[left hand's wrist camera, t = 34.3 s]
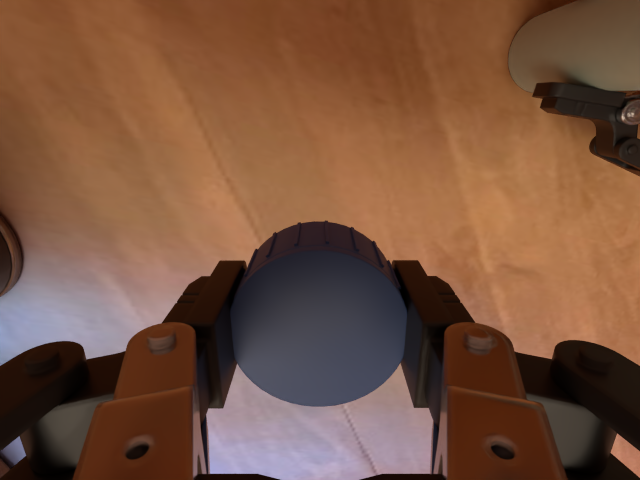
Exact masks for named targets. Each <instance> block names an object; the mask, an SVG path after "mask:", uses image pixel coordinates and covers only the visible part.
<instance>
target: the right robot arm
mask: <svg viewBox="0 0 640 480" xmlns="http://www.w3.org/2000/svg"><path fill="white" fill-rule="evenodd" d="M532 97H536V98H542V99H543V100H542V103H541V106H540V108H541V109H543V110H544V111H546V112H547V113H552V114H558V115H565V116H571V117H577V118H584V119H589V120H591V121H593V122H594V124H595V126H596V136H595V137H594V138H593V139H592V141H591V142H590V145H589V149H590V152H591V153H592V154H594V155H596V156H598V157H600V158H602V159H604V160H606V161H608V162H611V163H613V164H615V165H617V166H619V167H621V168H623V169H625V170H627V171H630V172H632V173H634V174H636V175H638V176H640V139H637V130H638V124H640V92H635V93H632V94H631V95H627V96H626V93H623V92H617V91H608V90H603V89H598V88H592V87H586V86H580V85H574V84H568V83H561V82H544V83H536V86H535V89H534V92H533V96H532Z"/></svg>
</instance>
